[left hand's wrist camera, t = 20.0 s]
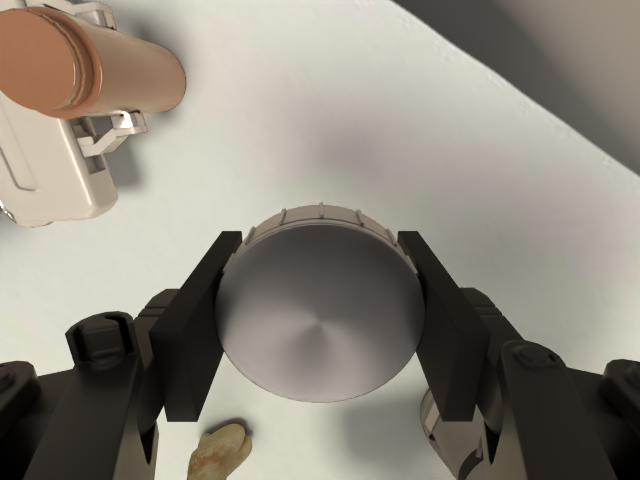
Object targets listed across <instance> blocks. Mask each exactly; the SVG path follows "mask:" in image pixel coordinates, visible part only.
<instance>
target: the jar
mask: <svg viewBox="0 0 640 480" xmlns="http://www.w3.org/2000/svg"><path fill="white" fill-rule="evenodd" d="M185 88H186V79H185V74H184V70H183V68H182V66H181V64H180V62H179V61H178V59H177V58H176V57H175V56H174V55H173V54H172V53H171V52H170V51H169V50H167V49H166V48H164V47H162V46H160V45H157V44H154V43H151V42H148V41H145V40H142V39H139V38H136V37H133V36H131V35H128V34H125V33H122V32H119V31H116V30H113V29H110V28H107V27H104V26H101V25H98V24H95V23H93V22H90V21H87V20H84V19H81V18H78V17H75V16H72V15H69V14H66V13H63V12H60V11H57V10H55V9H51V8H47V7H41V6H32V7H26V8H23V9H21V8H11V9H8V10H5V11H0V91H1V92H2V93H4V94H5V95H6V96H7V97H8V98H9V99H11V100H12V101H14V102H15V103H17V104H19V105H21V106H23V107H25V108H28V109H31V110H36V111H38V112H39V113H41V114H44V115H46V116H49V117H53V118H58V119H75V118H88V117H102V116H115V115H124V114H127V113H135V112H137V113H138V112H142V113H156V112H165V111H169V110H171V109H173V108H174V107H176V106H177V105H178V104H179V103H180V101H181V100H182V98H183V96H184V93H185Z"/></svg>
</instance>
